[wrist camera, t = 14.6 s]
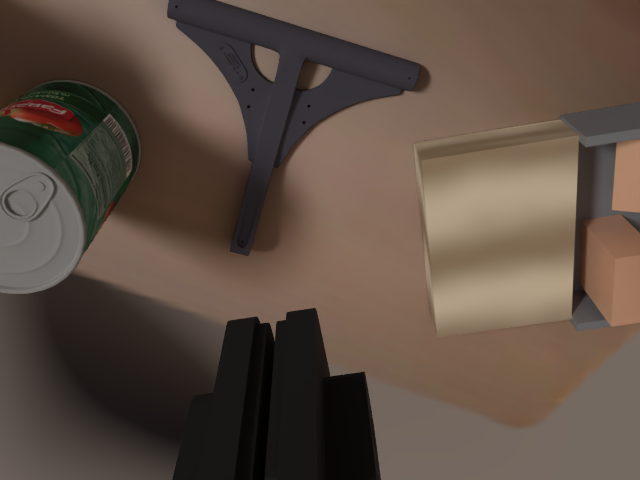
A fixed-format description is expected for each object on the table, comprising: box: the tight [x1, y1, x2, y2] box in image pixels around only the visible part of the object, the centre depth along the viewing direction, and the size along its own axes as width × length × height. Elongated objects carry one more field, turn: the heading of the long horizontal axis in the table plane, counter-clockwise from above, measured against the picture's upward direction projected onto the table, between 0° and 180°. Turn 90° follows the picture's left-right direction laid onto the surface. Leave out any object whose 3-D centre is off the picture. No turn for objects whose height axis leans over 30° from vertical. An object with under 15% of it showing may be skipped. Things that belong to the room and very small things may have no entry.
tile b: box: [580, 214, 640, 327], centre depth 39 cm, size 5×5×2 cm
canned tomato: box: [0, 79, 141, 294], centre depth 33 cm, size 8×8×11 cm
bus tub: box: [560, 103, 640, 331], centre depth 38 cm, size 14×8×4 cm, turn 9°
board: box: [414, 119, 579, 338], centre depth 39 cm, size 13×9×3 cm
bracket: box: [167, 0, 420, 256], centre depth 37 cm, size 14×15×3 cm
